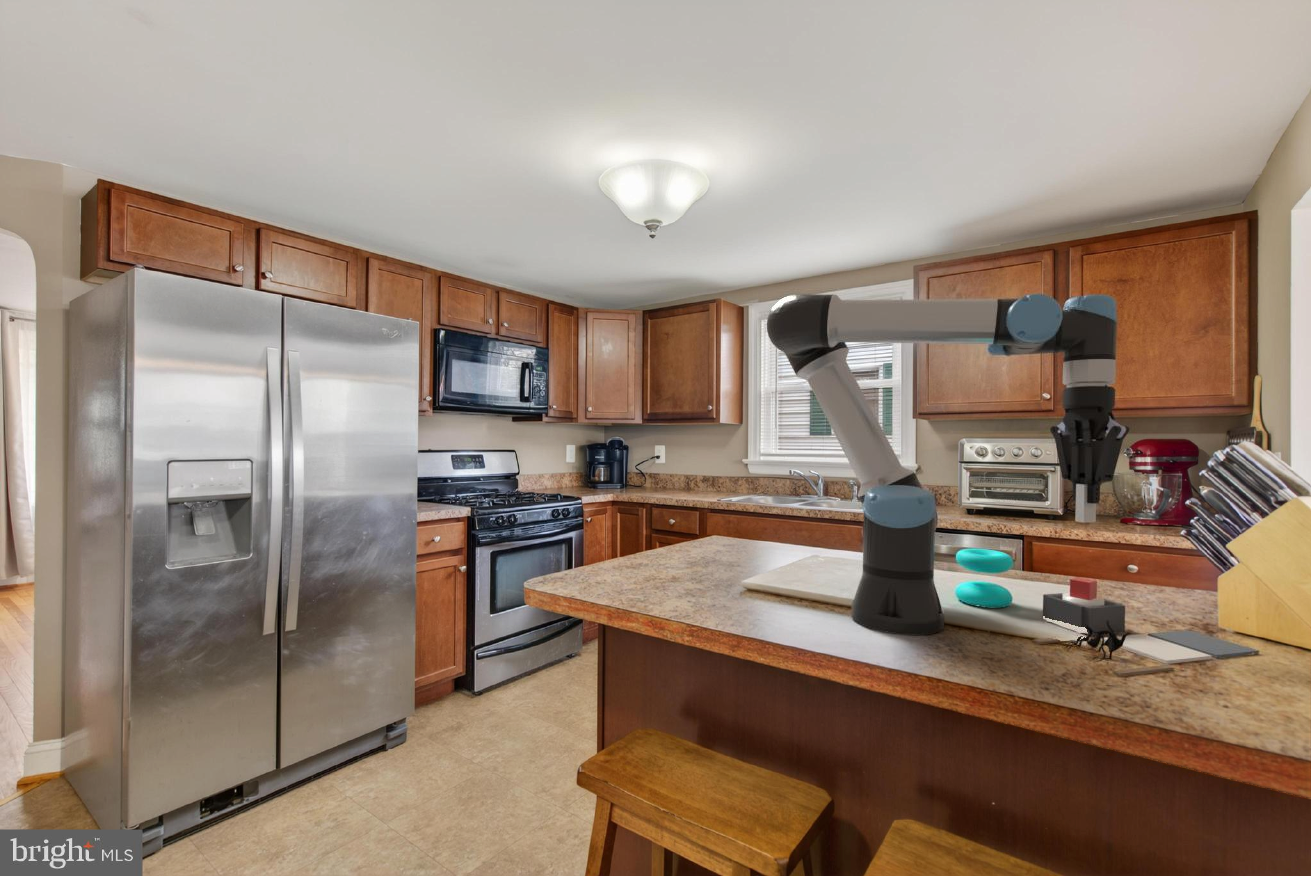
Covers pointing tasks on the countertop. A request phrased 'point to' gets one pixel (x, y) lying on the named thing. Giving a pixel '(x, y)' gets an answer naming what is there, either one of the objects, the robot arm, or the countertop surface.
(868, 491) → the robot arm
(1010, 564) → the donuts
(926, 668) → the countertop surface
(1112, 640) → the creature
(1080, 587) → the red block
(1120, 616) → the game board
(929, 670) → the countertop surface
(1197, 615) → the countertop surface
